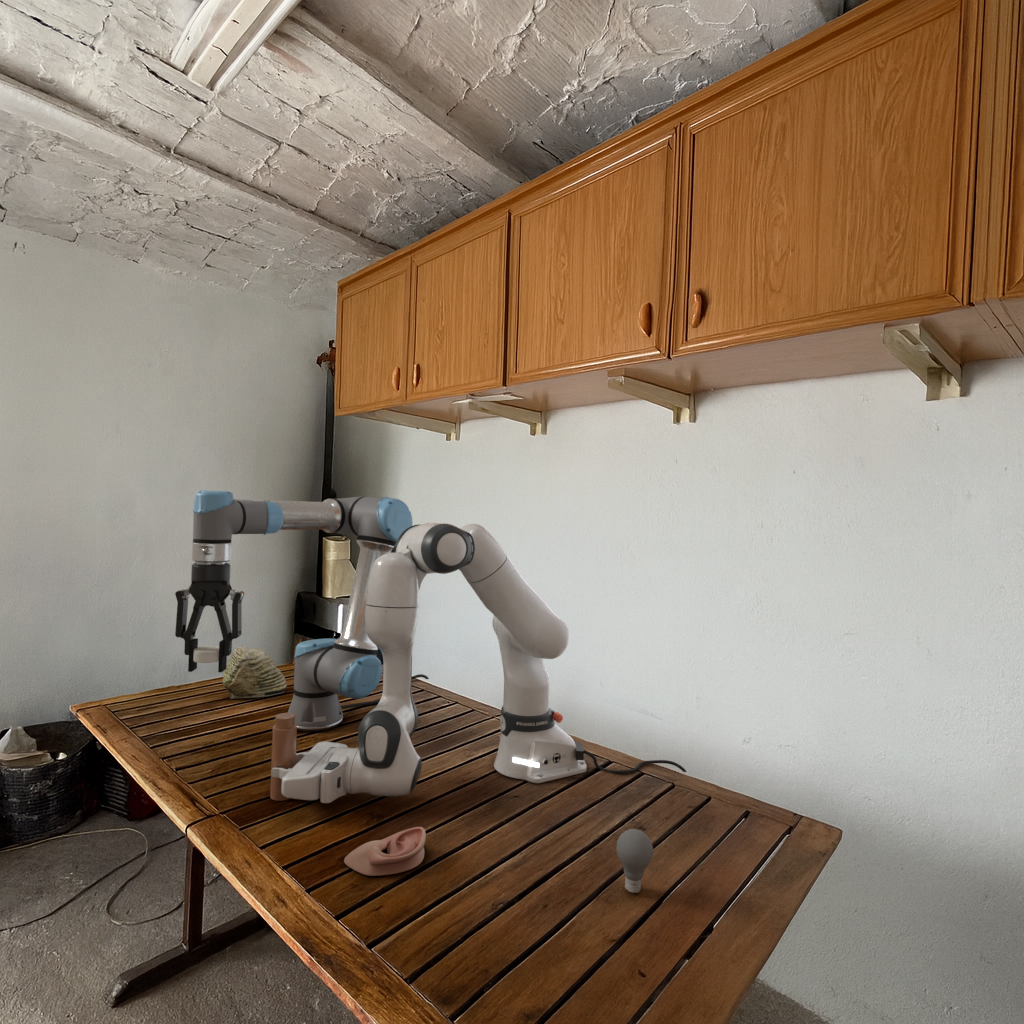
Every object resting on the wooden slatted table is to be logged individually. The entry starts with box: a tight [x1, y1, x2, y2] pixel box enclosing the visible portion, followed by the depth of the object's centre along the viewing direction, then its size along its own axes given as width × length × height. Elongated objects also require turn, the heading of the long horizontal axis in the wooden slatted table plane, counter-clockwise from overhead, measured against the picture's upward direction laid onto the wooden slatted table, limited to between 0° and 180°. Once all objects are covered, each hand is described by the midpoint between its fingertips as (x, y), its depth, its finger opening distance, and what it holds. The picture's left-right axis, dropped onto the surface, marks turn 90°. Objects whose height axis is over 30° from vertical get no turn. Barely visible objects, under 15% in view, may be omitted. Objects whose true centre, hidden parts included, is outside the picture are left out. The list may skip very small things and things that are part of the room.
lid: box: [193, 645, 219, 664], centre depth 136 cm, size 6×6×2 cm
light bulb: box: [615, 828, 654, 894], centre depth 106 cm, size 6×6×10 cm
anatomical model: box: [343, 826, 427, 877], centre depth 112 cm, size 13×4×12 cm
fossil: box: [222, 646, 288, 699], centre depth 198 cm, size 9×18×15 cm, turn 132°
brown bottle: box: [269, 712, 298, 802], centre depth 134 cm, size 5×5×17 cm
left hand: (207, 670), depth 136 cm, fingers closed on lid, 5 cm apart
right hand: (279, 764), depth 134 cm, fingers closed on brown bottle, 5 cm apart
